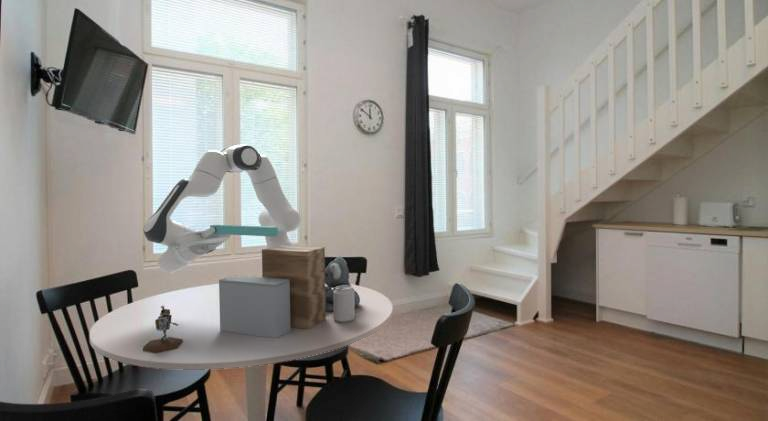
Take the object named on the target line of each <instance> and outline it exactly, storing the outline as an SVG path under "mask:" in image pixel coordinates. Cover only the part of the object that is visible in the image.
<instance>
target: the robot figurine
mask: <svg viewBox="0 0 768 421" xmlns="http://www.w3.org/2000/svg"><path fill="white" fill-rule="evenodd" d="M160 309H161V310H160V313H159V316H157V318H156V319H155V320H154V321H155V322H154V324H155V329H156V331H158V332H159V331H162V333H163V336H161V338H159V339H152V340H150V341H148V342H147V343H146V344H145V345H144V346H142V351H143V352H148V353H154V354H159V353H162V352H167V351H172V350H176V349H178V348H179V347H180V346H181V345H182V344H183V342H184V339H183V338H179V337H173V336H172V337H171V336H168V337H167V333H166V332H167V331H168V330H170V327H171V324H173V326H179V325H180V324H179V323H177V322H173V321H172V314H171V310H170V309H169V308H165V305H160Z"/></svg>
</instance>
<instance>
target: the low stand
mask: <svg viewBox="0 0 768 421" xmlns="http://www.w3.org/2000/svg"><path fill="white" fill-rule="evenodd" d="M218 294H219V299H218V301H219V302H218V303H219V330H220V331H221V332H228V333H237V334H243V335H251V336H255V337H256V336H258V337H266V338H272V339H278V338H280V337H281V336H283V335H285V334H286V333H288V332H290V331H291V327H290V279H277V278H264V277H262V276H250V275H249V276H248V275H237V274H236V275H231V276H228V277H225V278H222V279H218Z"/></svg>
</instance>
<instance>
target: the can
mask: <svg viewBox="0 0 768 421" xmlns="http://www.w3.org/2000/svg"><path fill="white" fill-rule="evenodd" d="M352 288H353V286H352V285H351V286H347V285H343V286H337V287H335V290H334V292H333V304H334V311H333V319H334V321H335V322H337V323H349V322H350V323H351V322H352V321H353V320H354V319H355V316H356V314H355V309H356V307H355V301H354V290H355V289H354V288H353V289H354V290H353V289H352Z"/></svg>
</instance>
